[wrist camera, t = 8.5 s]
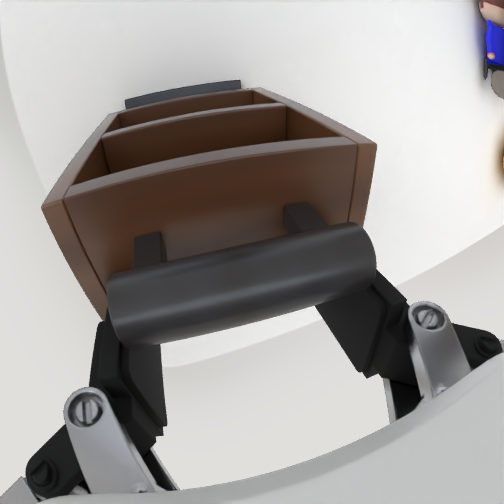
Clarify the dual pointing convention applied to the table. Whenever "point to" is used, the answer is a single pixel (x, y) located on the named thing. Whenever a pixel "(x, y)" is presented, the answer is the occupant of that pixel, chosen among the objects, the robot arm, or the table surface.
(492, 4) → the figurine character
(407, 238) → the table surface
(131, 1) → the table surface
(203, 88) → the charcoal rectangular slab
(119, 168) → the walnut shelf
